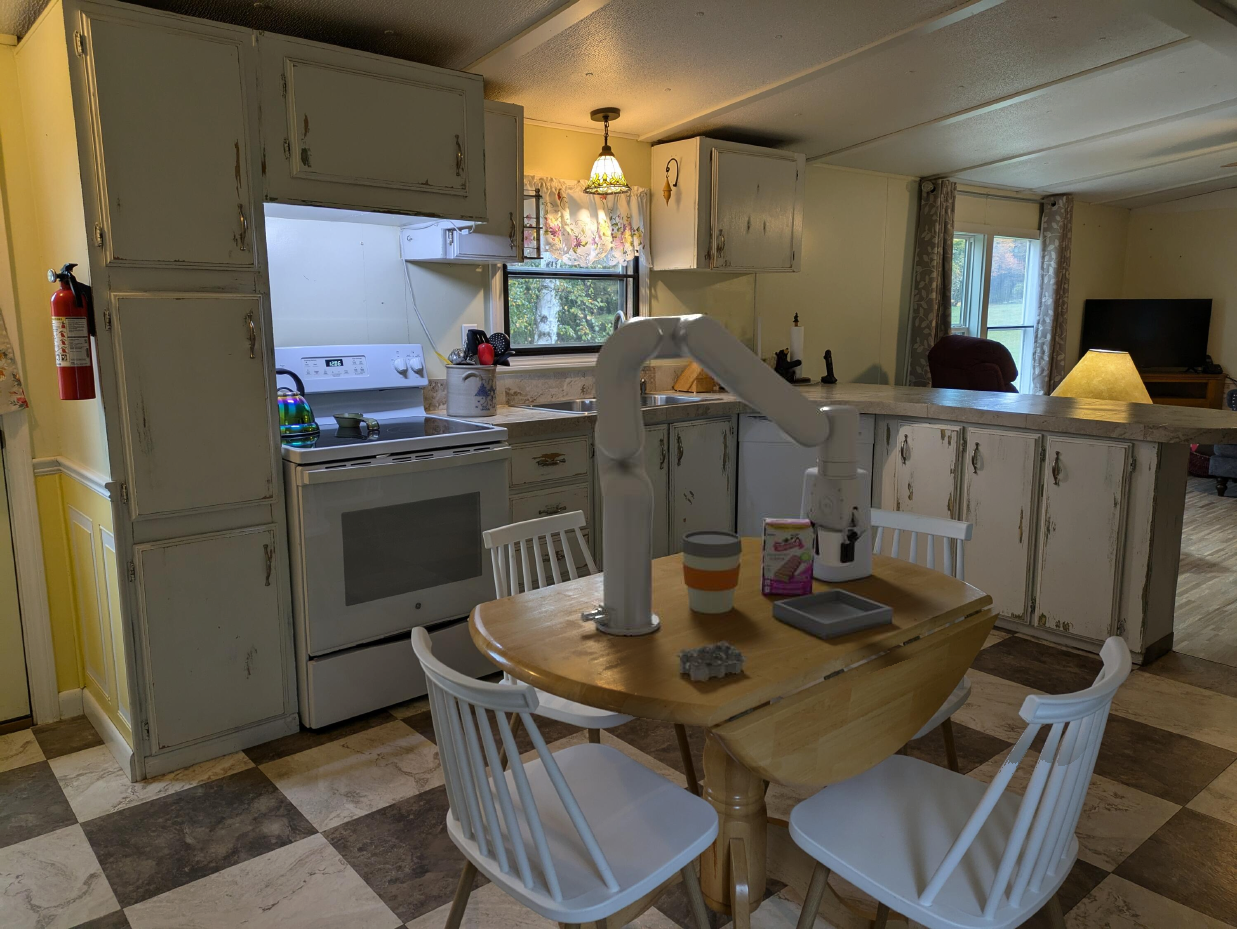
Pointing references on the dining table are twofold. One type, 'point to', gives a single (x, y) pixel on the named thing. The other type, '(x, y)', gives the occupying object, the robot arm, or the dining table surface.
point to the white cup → (830, 546)
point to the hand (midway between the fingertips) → (834, 557)
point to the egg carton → (710, 661)
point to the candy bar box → (787, 557)
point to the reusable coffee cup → (711, 569)
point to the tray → (832, 613)
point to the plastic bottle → (864, 544)
